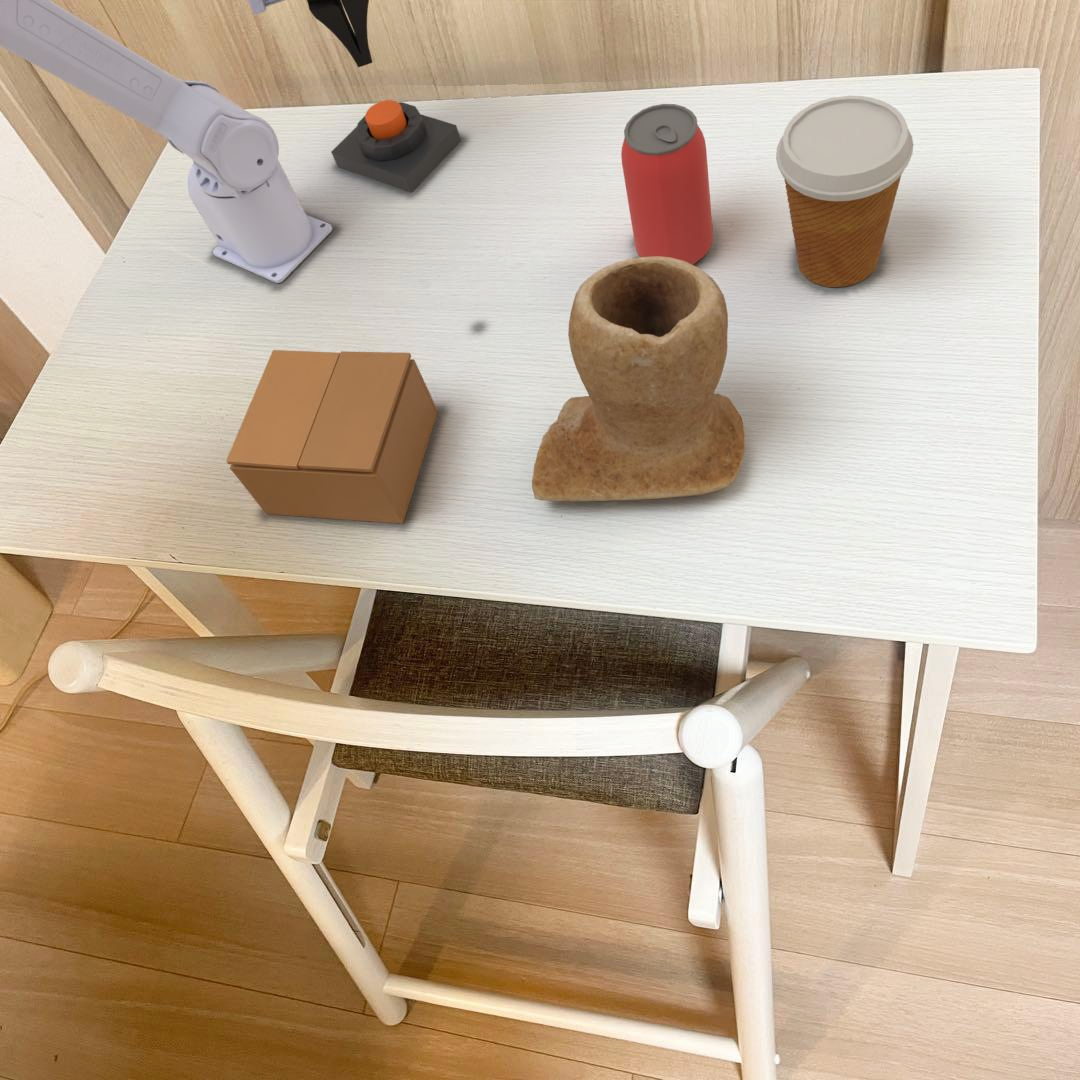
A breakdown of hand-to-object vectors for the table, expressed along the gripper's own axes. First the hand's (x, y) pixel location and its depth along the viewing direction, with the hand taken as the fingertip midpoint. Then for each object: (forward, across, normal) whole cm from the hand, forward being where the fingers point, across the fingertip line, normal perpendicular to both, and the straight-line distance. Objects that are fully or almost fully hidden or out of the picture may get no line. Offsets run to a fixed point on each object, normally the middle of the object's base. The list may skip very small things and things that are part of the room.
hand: (363, 59), depth 93 cm
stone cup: (+10, +13, -43) cm, 46 cm away
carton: (+10, -10, -36) cm, 39 cm away
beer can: (+11, +21, -24) cm, 34 cm away
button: (+7, 0, 0) cm, 7 cm away
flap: (+4, -12, -35) cm, 37 cm away
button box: (+10, 0, 0) cm, 10 cm away
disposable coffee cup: (+11, +33, -31) cm, 46 cm away
